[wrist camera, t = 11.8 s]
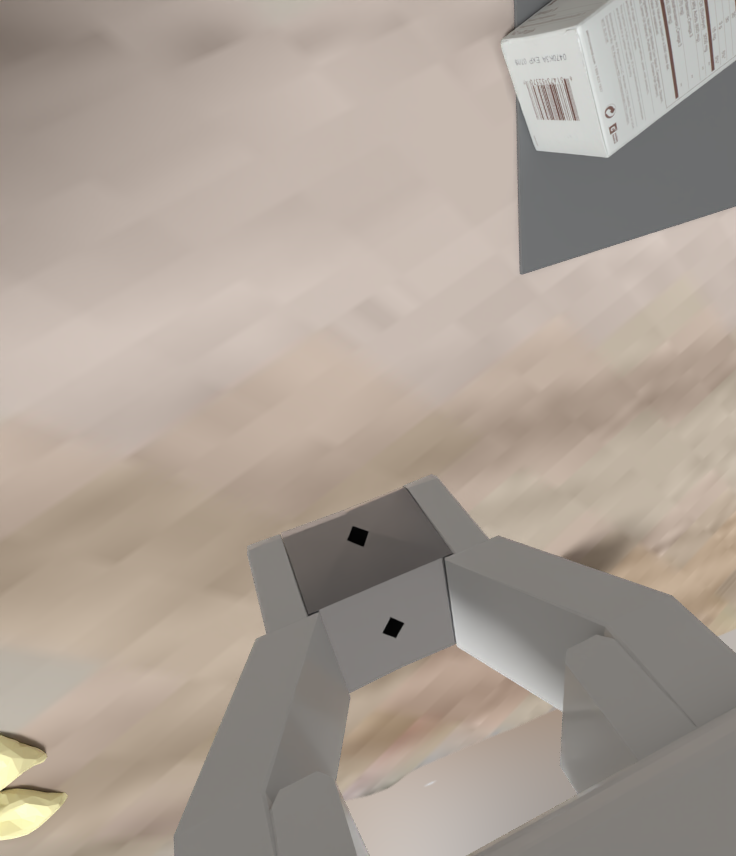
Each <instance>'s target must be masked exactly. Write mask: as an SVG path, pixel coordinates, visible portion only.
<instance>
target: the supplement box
mask: <svg viewBox="0 0 736 856" xmlns="http://www.w3.org/2000/svg"><path fill="white" fill-rule="evenodd" d="M501 48H502V51H503V55H504V58H505V61H506V64H507V67H508V69H509V73H510V76H511V79H512V82H513V85H514V88H515V91H516V94H517V97H518V100H519V103H520V106H521V109H522V112H523V115H524V118H525V120H526V123H527V126H528V129H529V132H530V135H531V138H532V141H533V144H534V146H535V149H536V150H537V151H546V152H557V153H567V154H577V155H587V156H597V157H605V158H608V157H610V156H611V155H612V154H614V153H615V152H616V151H617V150H619V149H620V148H621V147H623V146H624V145H625V144H627V143H628V142H629V141H631V140H632V139H633V138H635V137H636V136H637V135H639V134H640V133H641V132H642V131H644V130H645V129H646V128H647V127H649V126H650V125H651V124H653V123H654V122H655V121H657V120H658V119H659V118H660V117H662V116H663V115H664V114H666V113H667V112H668V111H670V110H671V109H672V108H674V107H675V106H676V105H678V104H679V103H680V102H682V101H683V100H684V99H685V98H687V97H688V96H689V95H691V94H692V93H693V92H695V91H696V90H697V89H699V88H700V87H701V86H703V85H704V84H705V83H707V82H708V81H709V80H711V79H712V78H713V77H714V76H716V75H717V74H719V73H720V72H721V71H722V70H724V69H725V68H726V67H728V66H729V65H730V64H732V63H733V62H734V61H736V0H552V1H551V2H550V3H548V4H547V5H546V6H544V7H543V8H542V9H540V10H539V11H538V12H536V13H535V14H534V15H533V16H531V17H530V18H529V19H527V20H526V21H525V22H523V23H522V24H521V25H520V26H518V27H517V28H516V29H514V30H513V31H512V32H511V33H509V34H508V35H507V36H506V37H504V38H503V39H502V41H501Z"/></svg>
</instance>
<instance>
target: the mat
mask: <svg viewBox="0 0 736 856" xmlns="http://www.w3.org/2000/svg"><path fill="white" fill-rule="evenodd" d="M551 1H552V0H514V18H515V29H516V28H517V27H518V26H520V25H521V24H522V23H523V22H525V21H526V20H527V19H529V18H530V17H531V16H533V15H534V14H535V13H536V12H538V11H539V10H540V9H542V8H543V7H544V6H546V5H547V4H548V3H550V2H551ZM516 113H517V160H518V208H519V255H520V274H525V273H528V272H532V271H535V270H538V269H541V268H544V267H547V266H550V265H553V264H557V263H560V262H563V261H566V260H569V259H572V258H575V257H578V256H582V255H585V254H588V253H591V252H594V251H597V250H600V249H604V248H607V247H610V246H613V245H616V244H619V243H622V242H625V241H629V240H632V239H635V238H638V237H641V236H644V235H647V234H650V233H654V232H657V231H660V230H663V229H666V228H669V227H672V226H675V225H679V224H682V223H685V222H688V221H691V220H694V219H697V218H700V217H704V216H707V215H710V214H713V213H716V212H719V211H722V210H726V209H729V208H732V207H735V206H736V61H734V62H733V63H732V64H730V65H729V66H728V67H726V68H725V69H724V70H722V71H721V72H720V73H719V74H717V75H716V76H714V77H713V78H712V79H711V80H709V81H708V82H707V83H705V84H704V85H703V86H701V87H700V88H699V89H697V90H696V91H695V92H693V93H692V94H691V95H689V96H688V97H687V98H685V99H684V100H683V101H682V102H680V103H679V104H678V105H676V106H675V107H674V108H672V109H671V110H670V111H668V112H667V113H666V114H664V115H663V116H662V117H660V118H659V119H658V120H657V121H655V122H654V123H653V124H651V125H650V126H649V127H647V128H646V129H645V130H644V131H642V132H641V133H640V134H639V135H637V136H636V137H635V138H633V139H632V140H631V141H629V142H628V143H627V144H625V145H624V146H623V147H621V148H620V149H619V150H617V151H616V152H615V153H614V154H612V155H611V156H610V157H608V158H605V157H597V156H587V155H577V154H567V153H557V152H546V151H537V150H536V149H535V146H534V144H533V141H532V138H531V135H530V132H529V129H528V126H527V123H526V120H525V118H524V115H523V112H522V109H521V106H520V103H519V100H518V97H517V94H516Z"/></svg>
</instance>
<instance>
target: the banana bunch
mask: <svg viewBox="0 0 736 856" xmlns="http://www.w3.org/2000/svg"><path fill="white" fill-rule="evenodd" d="M46 758H47V756H46V753H44V752H43V751H42V750H40V749H38V748H36V747H32V746H29V745H26V744H23V743H19V742H18V741H16V740H14V739H10V738H7V737H5V736H2V735H0V791H1V790H2V789H4V788H5V787H6V786H7V785H9V784H10V783H11V782H12V781H13V780H15V779H16V778H17V777H18V776H20V775H21V774H22V773H23V772H25V771H26V770H28V769H30V768H31V767H33V766H34V765H37V764H39V763H42V762H44V761H45V759H46ZM66 798H67V795H66V794H65V793H46V792H41V791H35V790H29V789H18V788H16V789H8V790H4V791H1V792H0V840H5V839H13V838H17V837H20V836H24V835H27V834H29V833H31V832H32V831H34V830H35V829H37V828H38V827H40V826H41V825H42V824H43V823H44V822H45V821H47V820H48V819H49V818H50V817H51V816H52V815H53V814H54V813H55V812H56V811H57V810H58V809H59V808H60V807H61V806H62V805H63V803H64V802H65V800H66Z"/></svg>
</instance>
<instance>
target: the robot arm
mask: <svg viewBox="0 0 736 856" xmlns="http://www.w3.org/2000/svg"><path fill="white" fill-rule="evenodd" d="M281 535H282V537H281ZM282 538H283V539H282ZM247 555H248V559H249V563H250V567H251V572H252V576H253V580H254V584H255V588H256V592H257V597H258V601H259V605H260V609H261V613H262V617H263V622H264V626H265V630H266V635H263V636H261V637H259V638H257V639H256V640H255V642H254V645H253V647H252V650H251V652H250V654H249V657H248V659H247V662H246V664H245V666H244V669H243V671H242V674H241V676H240V678H239V681H238V683H237V686H236V688H235V690H234V693H233V695H232V698H231V700H230V702H229V705H228V707H227V710H226V712H225V714H224V717H223V719H222V722H221V724H220V726H219V729H218V731H217V733H216V736H215V738H214V741H213V743H212V745H211V748H210V750H209V753H208V755H207V757H206V760H205V762H204V765H203V767H202V769H201V772H200V774H199V777H198V779H197V781H196V784H195V786H194V789H193V791H192V793H191V796H190V798H189V801H188V803H187V805H186V808H185V810H184V813H183V815H182V817H181V820H180V822H179V825H178V827H177V829H176V832H175V834H174V856H370V855H369V853H368V851H367V849H366V846H365V844H364V842H363V840H362V838H361V835H360V833H359V831H358V829H357V827H356V825H355V823H354V820H353V818H352V816H351V814H350V812H349V810H348V807H347V805H346V803H345V801H344V799H343V796H342V794H341V792H340V790H339V788H338V786H337V783H336V778H337V772H338V767H339V761H340V755H341V749H342V743H343V737H344V732H345V726H346V720H347V714H348V708H349V703H350V694H349V693H351V692H353V691H355V690H357V689H359V688H361V687H363V686H365V685H367V684H369V683H371V682H373V681H375V680H377V679H379V678H381V677H383V676H385V675H387V674H389V673H391V672H393V671H395V670H397V669H399V668H401V667H403V666H406V665H408V664H410V663H413V662H415V661H417V660H420V659H422V658H424V657H426V656H429V655H431V654H433V653H436V652H438V651H440V650H443V649H445V648H447V647H450V646H452V645H454V644H457V647H458V648H460V649H462V650H463V651H465V652H467V653H468V654H470V655H471V656H473V657H475V658H476V659H478V660H479V661H481V662H483V663H484V664H486V665H488V666H489V667H491V668H492V669H494V670H496V671H497V672H499V673H500V674H502V675H504V676H505V677H507V678H509V679H510V680H512V681H513V682H515V683H517V684H518V685H520V686H521V687H523V688H525V689H526V690H528V691H530V692H531V693H533V694H534V695H536V696H538V697H539V698H541V699H542V700H544V701H546V702H547V703H549V704H551V705H552V706H554V707H555V708H557V709H559V710H560V711H562V712H563V717H562V718H563V719H562V737H561V739H562V740H561V759H560V767H561V769H562V770H563V772H564V774H565V775H566V777H567V778H568V780H569V781H570V783H571V785H572V786H573V788H574V789H575V791H576V793H577V795H575V796H574V797H572V798H570V799H568V800H566V801H565V802H563V803H561V804H559V805H557V806H555V807H554V808H552V809H550V810H548V811H547V812H545V813H543V814H541V815H539V816H537V817H536V818H534V819H532V820H531V821H529V822H527V823H525V824H523V825H521V826H519V827H518V828H516V829H514V830H512V831H510V832H508V833H507V834H505V835H503V836H501V837H499V838H498V839H496V840H494V841H492V842H491V843H489V844H487V845H485V846H483V847H481V848H480V849H478V850H476V851H474V852H472V853H470V854H469V855H467V856H736V653H735V652H734V651H733V650H732V649H730V648H729V647H728V646H727V645H726V644H725V643H724V642H723V641H722V640H721V639H719V638H718V637H717V636H716V635H715V634H714V633H713V632H712V631H711V630H710V629H708V628H707V627H706V626H705V625H704V624H703V623H702V622H701V621H700V620H698V619H697V618H696V617H695V616H694V615H693V614H692V613H691V612H690V611H689V610H687V609H686V608H685V607H684V606H683V605H682V604H681V603H680V602H679V601H677V600H676V599H675V598H674V597H673V596H672V595H669V594H666V593H663V592H660V591H657V590H654V589H652V588H649V587H646V586H643V585H640V584H637V583H634V582H631V581H628V580H626V579H623V578H620V577H617V576H614V575H611V574H608V573H605V572H602V571H600V570H597V569H594V568H591V567H588V566H585V565H582V564H579V563H576V562H574V561H571V560H568V559H565V558H562V557H559V556H556V555H553V554H550V553H548V552H545V551H542V550H539V549H536V548H533V547H530V546H527V545H524V544H522V543H519V542H516V541H513V540H510V539H507V538H504V537H501V536H496V537H494V538H491V539H489V538H488V537H487V536H486V535H485V533H484V532H483V531H482V530H481V529H480V527H479V526H478V525H477V524H476V523H475V521H474V520H473V519H472V518H471V517H470V515H469V514H468V513H467V512H466V511H465V509H464V508H463V507H462V506H461V505H460V503H459V502H458V501H457V500H456V499H455V497H454V496H453V495H452V494H451V493H450V491H449V490H448V489H447V488H446V487H445V485H444V484H443V483H442V482H441V481H440V479H439V478H438V477H437V476H435V475H433V474H430V475H428V476H426V477H423V478H421V479H418V480H416V481H413V482H411V483H409V484H406V485H404V486H403V487H400V488H398V489H395V490H393V491H390V492H388V493H385V494H383V495H380V496H378V497H375V498H373V499H370V500H368V501H365V502H363V503H360V504H357V505H355V506H352V507H350V508H347V509H345V510H343V511H340V512H337V513H334V514H332V515H329V516H326V517H323V518H321V519H318V520H315V521H312V522H310V523H307V524H304V525H301V526H299V527H296V528H293V529H290V530H288V531H285V532H282V533H281V534H278V535H276V536H273V537H270V538H267V539H265V540H262V541H259V542H256V543H254V544H251V545H248V546H247Z"/></svg>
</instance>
